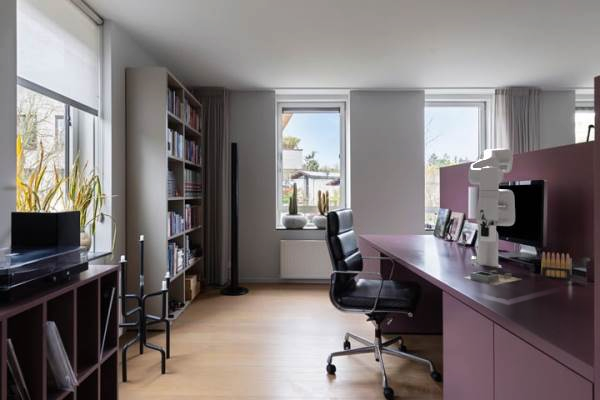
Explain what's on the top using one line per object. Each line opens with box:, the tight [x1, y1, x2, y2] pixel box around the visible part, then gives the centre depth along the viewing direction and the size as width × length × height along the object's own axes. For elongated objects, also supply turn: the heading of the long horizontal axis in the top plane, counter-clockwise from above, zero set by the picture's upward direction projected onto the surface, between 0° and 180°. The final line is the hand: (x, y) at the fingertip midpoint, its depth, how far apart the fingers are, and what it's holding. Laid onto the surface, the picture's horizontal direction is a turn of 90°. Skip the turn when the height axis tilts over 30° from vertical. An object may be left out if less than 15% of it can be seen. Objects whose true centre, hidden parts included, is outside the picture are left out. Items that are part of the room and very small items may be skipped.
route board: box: [463, 269, 523, 286], centre depth 143 cm, size 14×20×4 cm
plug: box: [480, 223, 497, 242], centre depth 147 cm, size 4×4×8 cm
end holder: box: [469, 270, 500, 284], centre depth 140 cm, size 8×8×2 cm
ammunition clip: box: [540, 251, 572, 281], centre depth 150 cm, size 11×2×12 cm, turn 62°
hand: (487, 235), depth 147 cm, fingers closed on plug, 4 cm apart
